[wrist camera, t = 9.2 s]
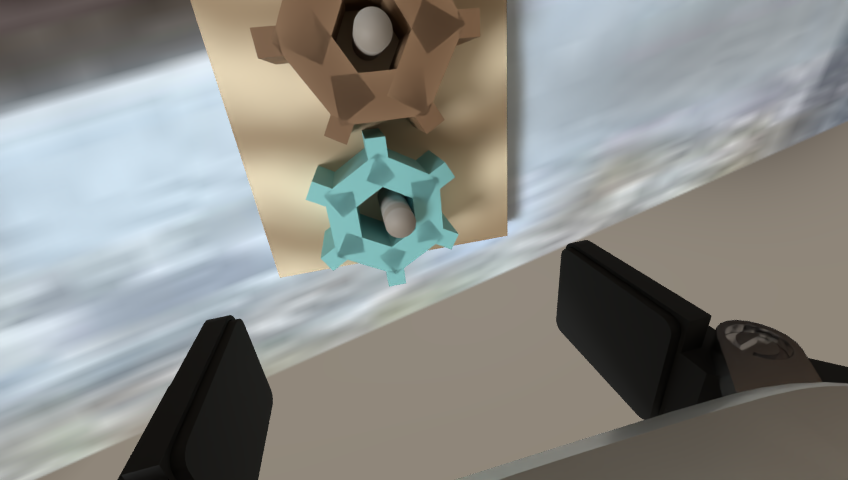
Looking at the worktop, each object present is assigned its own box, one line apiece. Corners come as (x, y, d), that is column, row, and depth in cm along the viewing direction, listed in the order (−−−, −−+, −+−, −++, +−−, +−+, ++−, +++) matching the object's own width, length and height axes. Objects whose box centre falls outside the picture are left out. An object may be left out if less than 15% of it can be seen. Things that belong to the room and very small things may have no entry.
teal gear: (302, 137, 20) (292, 148, 16) (434, 120, 21) (452, 127, 17) (333, 265, 23) (330, 297, 20) (444, 245, 24) (461, 272, 21)
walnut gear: (230, 9, 17) (197, -12, 13) (374, -120, 16) (382, -180, 12) (361, 167, 21) (364, 183, 17) (481, 71, 20) (510, 67, 16)
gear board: (194, -28, 18) (110, -93, 11) (491, -47, 20) (558, -110, 14) (284, 263, 25) (263, 323, 18) (496, 225, 27) (542, 267, 21)
